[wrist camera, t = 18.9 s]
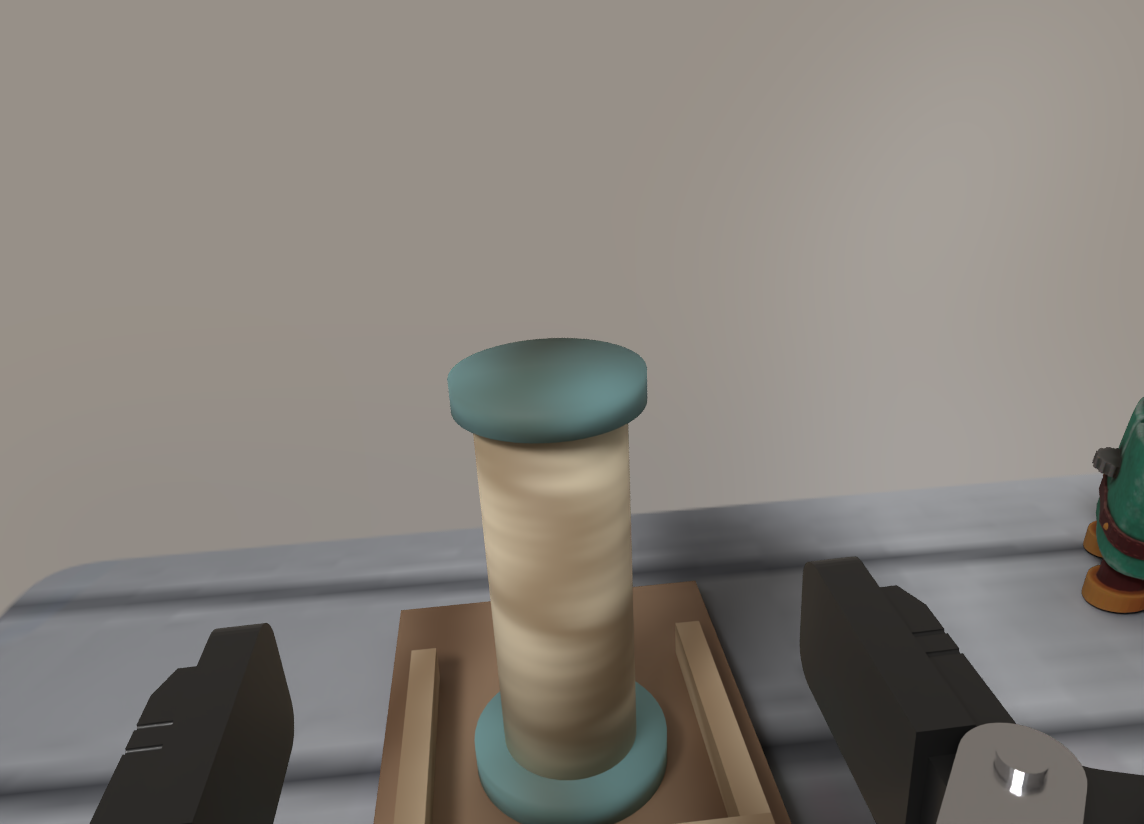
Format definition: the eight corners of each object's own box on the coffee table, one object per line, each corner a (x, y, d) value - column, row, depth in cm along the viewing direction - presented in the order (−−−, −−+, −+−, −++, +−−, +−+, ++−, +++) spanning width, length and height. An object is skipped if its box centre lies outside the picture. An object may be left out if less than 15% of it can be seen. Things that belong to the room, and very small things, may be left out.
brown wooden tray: (695, 601, 43) (695, 554, 42) (856, 1023, 25) (864, 958, 24) (404, 631, 42) (396, 583, 41) (349, 1093, 24) (333, 1029, 23)
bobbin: (648, 680, 36) (641, 326, 30) (685, 819, 30) (686, 405, 24) (477, 699, 36) (435, 342, 30) (477, 844, 29) (424, 427, 23)
